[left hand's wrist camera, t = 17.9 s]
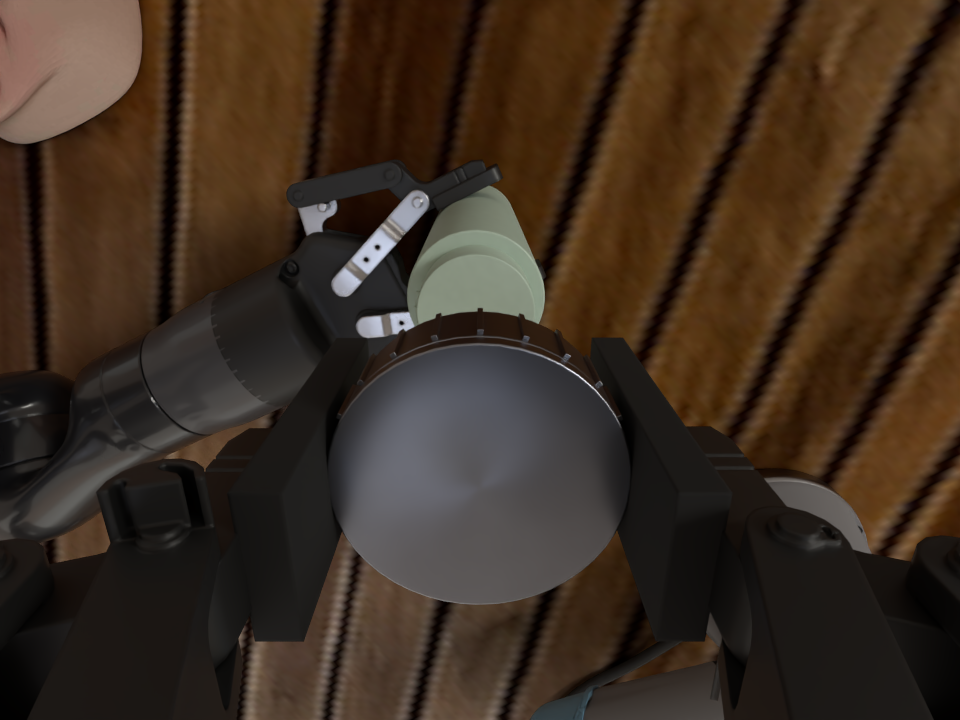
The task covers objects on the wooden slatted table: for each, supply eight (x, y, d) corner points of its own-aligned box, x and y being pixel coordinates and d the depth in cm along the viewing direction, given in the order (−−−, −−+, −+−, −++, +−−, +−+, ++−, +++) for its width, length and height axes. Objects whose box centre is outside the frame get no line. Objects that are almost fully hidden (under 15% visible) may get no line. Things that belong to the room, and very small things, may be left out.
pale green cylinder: (426, 242, 38) (379, 349, 20) (456, 170, 36) (434, 212, 18) (495, 272, 39) (511, 402, 20) (527, 203, 37) (576, 276, 19)
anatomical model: (38, -172, 26) (152, 94, 31) (92, -135, 30) (187, 98, 34) (-210, -85, 28) (-68, 159, 32) (-129, -60, 31) (-11, 156, 35)
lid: (620, 528, 13) (642, 591, 11) (374, 556, 13) (358, 621, 12) (606, 288, 11) (630, 318, 9) (316, 327, 11) (285, 363, 9)
